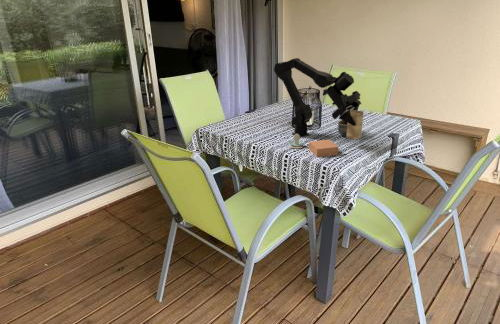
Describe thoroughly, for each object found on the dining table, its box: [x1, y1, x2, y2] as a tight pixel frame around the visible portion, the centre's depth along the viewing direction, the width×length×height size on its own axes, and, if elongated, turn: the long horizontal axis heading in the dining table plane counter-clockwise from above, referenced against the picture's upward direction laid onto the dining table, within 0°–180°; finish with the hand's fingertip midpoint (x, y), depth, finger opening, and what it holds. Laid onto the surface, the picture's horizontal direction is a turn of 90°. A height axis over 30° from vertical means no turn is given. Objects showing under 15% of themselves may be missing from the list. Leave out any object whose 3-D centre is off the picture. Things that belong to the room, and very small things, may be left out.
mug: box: [337, 119, 347, 137], centre depth 187 cm, size 10×12×10 cm
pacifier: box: [288, 134, 305, 150], centre depth 174 cm, size 7×6×6 cm
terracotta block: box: [308, 139, 339, 158], centre depth 167 cm, size 10×10×4 cm
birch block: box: [345, 110, 365, 140], centre depth 169 cm, size 5×5×12 cm
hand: (357, 123), depth 168 cm, fingers closed on birch block, 5 cm apart
